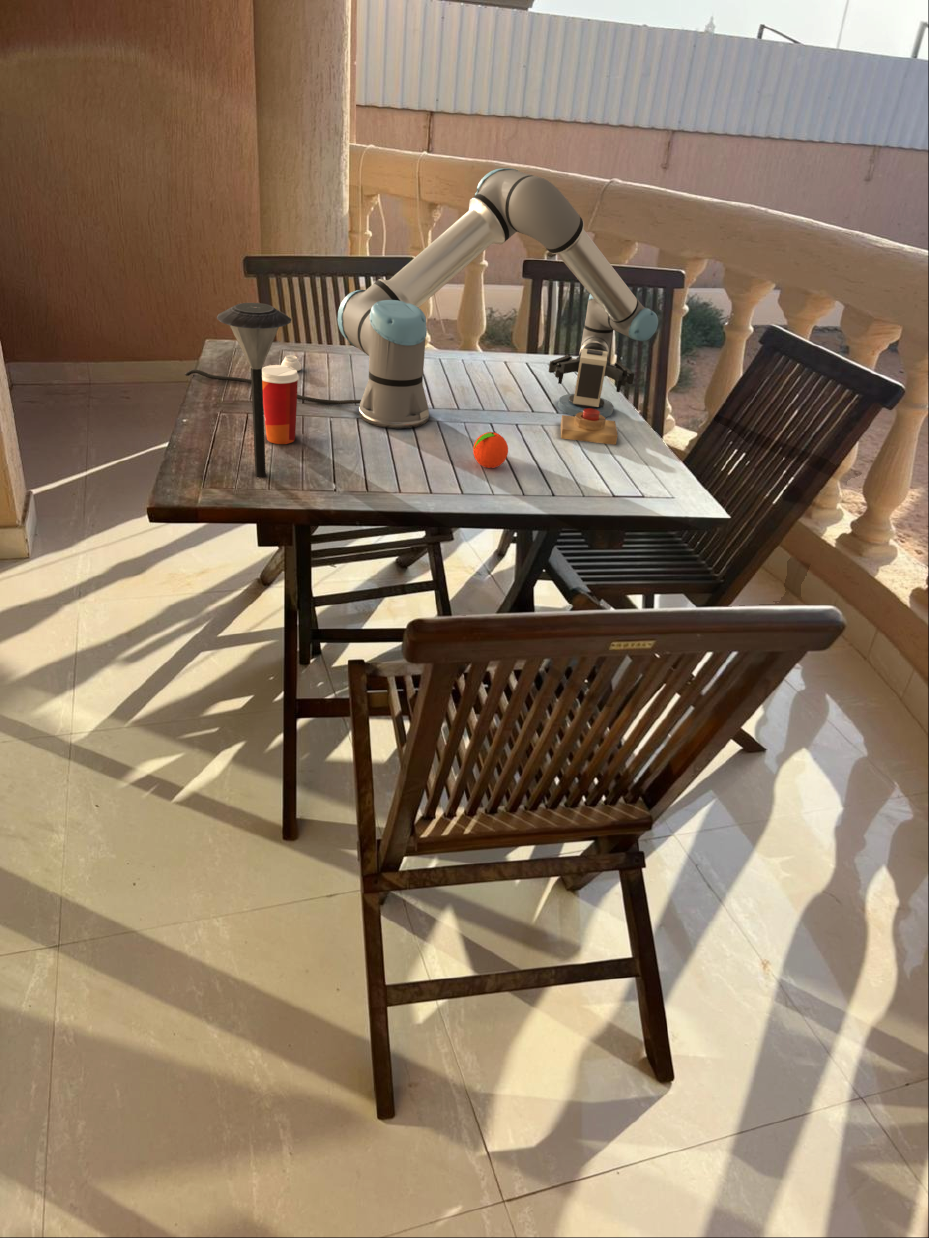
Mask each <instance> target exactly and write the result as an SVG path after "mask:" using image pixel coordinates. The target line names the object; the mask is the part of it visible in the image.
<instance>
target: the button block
mask: <svg viewBox="0 0 929 1238" xmlns="http://www.w3.org/2000/svg"><path fill="white" fill-rule="evenodd" d="M582 416H583V412H579V413H577V414H576V416H573V415H564V414H562V415H561V420H560V438H561V439H564V440H570V441H571V440H572V441H581V442H587V443H590V442H591V443H597V444H607V445H614V446H616V445H617V440H618V437H619V435H618V430H617V424H616V421H615V420H608V419H606V417H603V416H602V415H599V420H596V421H591V420H586V419H584V418H582Z"/></svg>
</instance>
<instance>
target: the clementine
mask: <svg viewBox="0 0 929 1238" xmlns="http://www.w3.org/2000/svg"><path fill="white" fill-rule="evenodd" d="M472 453H473V457H474V460H476V462H477V463H478V464H479V465H480V466H482V467H484V468H488V469H495V468H498V467H500V466H501V465H502V464H503V463H504V462H505V461H506V459H507V457H508V454H509V446H508V442H507V441H506V439H505V437H503V436H502V435H501V434H499V433H498V432H493V431H487V432H484V433H483V434H482V433H481V434H480V435H479V436H478V437H477V438H476V440H475V441H474V443H473V447H472Z"/></svg>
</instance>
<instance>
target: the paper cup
mask: <svg viewBox="0 0 929 1238" xmlns="http://www.w3.org/2000/svg"><path fill="white" fill-rule="evenodd" d="M299 380H300V375H299V373H298V371H297V370H295V369H294V368H291V367H289V366H285V365H281V364H271V365H266V366H264V367H263V366H262V384H263V412H264V428H265V435H266V440H267V441H268V442H269V443H272V444H276V445H287V444H291V443H293V442H295V441H296V431H297V428H296V427H297V407H298V399H297V395H298V385H299V383H298V382H299Z"/></svg>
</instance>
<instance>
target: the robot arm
mask: <svg viewBox="0 0 929 1238" xmlns="http://www.w3.org/2000/svg"><path fill="white" fill-rule="evenodd" d="M468 202H469V203H468V211H466V213H464V214H463V215H461V217H460V218H459V219H457V220H456V221H455V222H454V223H453V224H452V225H451V226H449V227H448V228H447V229H446V230H445V231H444V232H442V233H441V234H440V235H438V237H436V239H435V240H433V241H432V242H431V243H429V244H428V246H426V247H425V248H424V249H423V250H422V251H421V252H420V253H418V254H417V255H416V256H414V257H413V259H411V260H410V261H409V262H408V263H407V264H406V265H405V266H403V267H402V268H401V269H400V270H399V271H398V272H396V273H395V274H394V275H393V276H392V277H391V278H390V279H380V278H379V279H377V280H376V281H375V282H373V284H371V285H370V286H369V287H368V288H367V289H357V290H354V291H351V292H349V293H348V294H346V296H345V297H344V298H343V300H341V302H340V303H339V307H338V311H337V326H338V329H339V331H340V334H341V336H343V338H344V339H345V340H347V342H348V343H349V344H350V345H351V346H353V347H354V348H356V349H358V350H360V351H361V352H363V353H364V354H365V355H367V356H368V358H369V359H368V380H367V383H366V385H365V389H364V391H363V394H362V397H361V399H344V400H339V399H323V398H315V397H311V396H310V397H309V396H305V395H301V394H297V400H301V401H306V402H311V403H317V404H326V405H359V407H358V415H359V417H360V419H361V420H363V421H364V422H366V423H368V424H371V425H372V426H373V425H374V426H376V427H380V428H387V429H396V430H397V429H398V430H399V429H413V428H417V427H421V426H423V425H424V424H426V423H427V422H429V417H430V409H429V404H428V400H427V397H426V393H425V389H424V384H423V383H424V382H423V381H424V366H425V354H426V352H425V351H426V339H427V334H428V333H427V332H428V330H427V329H428V328H427V318H426V314H425V312H424V311H423V310H422V309H421V308H420V307H422V305H424V304H425V303H426V302H427V301H428V300H429V299H431V298H432V297H433V296H434V295H436V294H437V293H438V292H439V291H440V290H441V289H442V288H443V287H444V286H446V285H447V284H448V283H450V281H451V280H453V278H455V277H456V276H457V275H458V274H459V273H461V272H462V271H463V270H464V269H465V268H466V267H468V265H469V264H471V263H472V262H473V261H474V260H476V259H477V258H478V257H479V256H480V255H481V254H483V252H485V251H486V250H487V249H488V248H489V247H490V246H491V245H499V246H501V245H503V244H505V243H506V242H507V241H509V239H510V238H511V237H512V236H513V235H515V234H516V233H519V234H521V235H525V236H528V237H530V238H532V239H534V240H535V241H536V242H538V243H540V244H541V245H542V246H543V247H544V248H545V249H546V251H548V252H549V253H550V254H551V255H557V256H558V257H559V259H560V260H561V261H562V262H563V263H564V264H565V266H566V267H567V268H568V269H569V270H570V272H571V273H572V274H573V275H574V276H575V277H576V279H577V280H578V281H579V282H580V284H581V285H582V286H583V287H584V288H585V289H586V291H587V293H589V295H588V298H587V306H586V313H585V321H584V327H583V330H582V331H583V332H582V337H581V342H580V349H579V353H578V356H577V357H575V358H574V357H573V356H572V354H570V353H566V354H565V355H563V356H562V357H558V358H555V359H553V360H550V361H549V366H548V373H550V374H553V373H554V377H555V378H558V382H557V384H558V385H562V382H563V379H564V374H565V375H566V374H570V373H577V374H578V370H579V364H580V358H581V353H582V348H584V349H592V350H599V351H606V352H608V356H607V363H606V369H605V374H604V377H608V378H610V379H612V380H613V381H616V391H615V392H616V393H621V387H625V386H626V385H627V384H629V385H633V384H634V379H635V375H636V374H635V372H633V371H632V370H631V369H630V368H628V367H627V366H625V365H624V364H623V363H622V362H621V361H620V360H617V361H615V362H614V363H611V362H610V361H609V360H610V351H611V346H612V339H613V334H614V331H615V332H617V333H619V334H621V335H623V336H625V337H627V338H630V339H631V340H636V341H638V342H646V341H648V340H650V339H651V338H652V337H653V336H654V334H655V333H656V332H657V329H658V327H659V318H658V314H656V312H655V311H653V310H651V308H648V307H645V306H644V305H642V303H641V302H640V300H639V299H638V297H636V296H635V295H634V293H633V292H632V291H631V288H629V287H628V285H627V284H626V282H624V280H623V279H622V277H621V276H620V275H619V273H618V272H617V271H616V270H615V269H614V267H613V266H612V264H611V263H610V261H609V260H608V259H607V257H605V255H604V254H603V252H602V251H601V250H600V249H599V247H598V246H597V244H595V242H594V241H593V240H592V238H591V237H590V235H589V234H588V233H587V231H586V230H585V229H584V228H585V222H584V219H583V218H582V217H581V215H580V214H579V213H578V211H577V210H576V208H574V206H573V205H572V204H571V202H570V201H569V200H568V199H567V198H566V196H565V195H564V194H563V193H562V192H561V191H560V189H558V187H557V186H555V185H554V184H553V183H552V182H551V181H550V180H548V179H546V178H544V177H542V176H537V175H533V174H530V173H526V172H523V171H520V170H518V169H514V168H510V167H509V168H507V167H506V168H495V169H492V170H491V171H489V172H488V173H486V174H484V176H483V177H482V178H481V179H480V181H479V182H478V183H477V187H476V192H475V193H474V195H473V196H472V198H470V199H469V201H468ZM192 374H198V375H200V376H202V377H205V378H208V379H210V380H216V381H217V380H218V381H226V382H239V383H246V384H251V378H244V377H235V376H225V375H216V374H211V373H207V372H205V371H203V370H200V369H196V368H195V369H189V370H187V371H186V372H185V373H184V376H186V377H189V376H191V375H192Z"/></svg>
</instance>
